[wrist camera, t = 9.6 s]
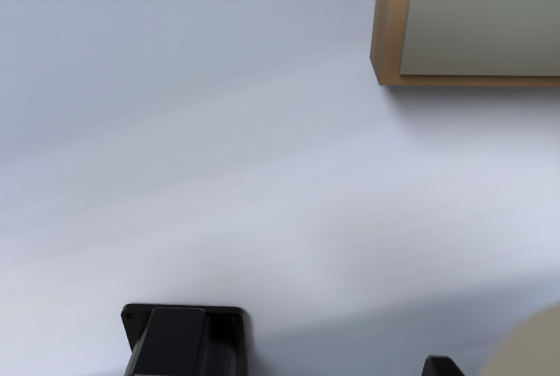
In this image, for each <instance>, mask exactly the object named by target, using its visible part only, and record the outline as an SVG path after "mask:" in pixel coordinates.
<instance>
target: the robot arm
mask: <svg viewBox="0 0 560 376" xmlns="http://www.w3.org/2000/svg"><path fill="white" fill-rule="evenodd" d="M234 316H235V317H234ZM121 318H122V321H123V324H124V328H125V331H126V334H127V338H128V341H129V344H130V348H131V351H132V355H131V358H130V360H129V363H128V366H127V369H126V371H125V374H124V376H249V374H248V360H247V347H246V334H245V321H244V312H243V311H242V310H241V309H239V308H237V307H215V306H183V305H150V304H127V305H125V306H124V308H123V310H122V312H121ZM421 376H465V375H464V374H463V372H462V371H461V370H460V369H459V367H458V366H457V365H456V364H455V362H454V361H453V360H452V359H451V358H450V357H448V356H440V355H429V356H428V357H427V358H426V361H425V364H424V368H423V371H422V375H421Z"/></svg>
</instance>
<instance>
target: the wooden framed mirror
mask: <svg viewBox="0 0 560 376" xmlns="http://www.w3.org/2000/svg"><path fill="white" fill-rule="evenodd" d="M370 60H371V63H372V66H373V68H374V71H375V74H376V77H377V80H378V82H379V85H421V86H515V87H560V0H376V4H375V13H374V23H373V32H372V42H371V52H370Z"/></svg>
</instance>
